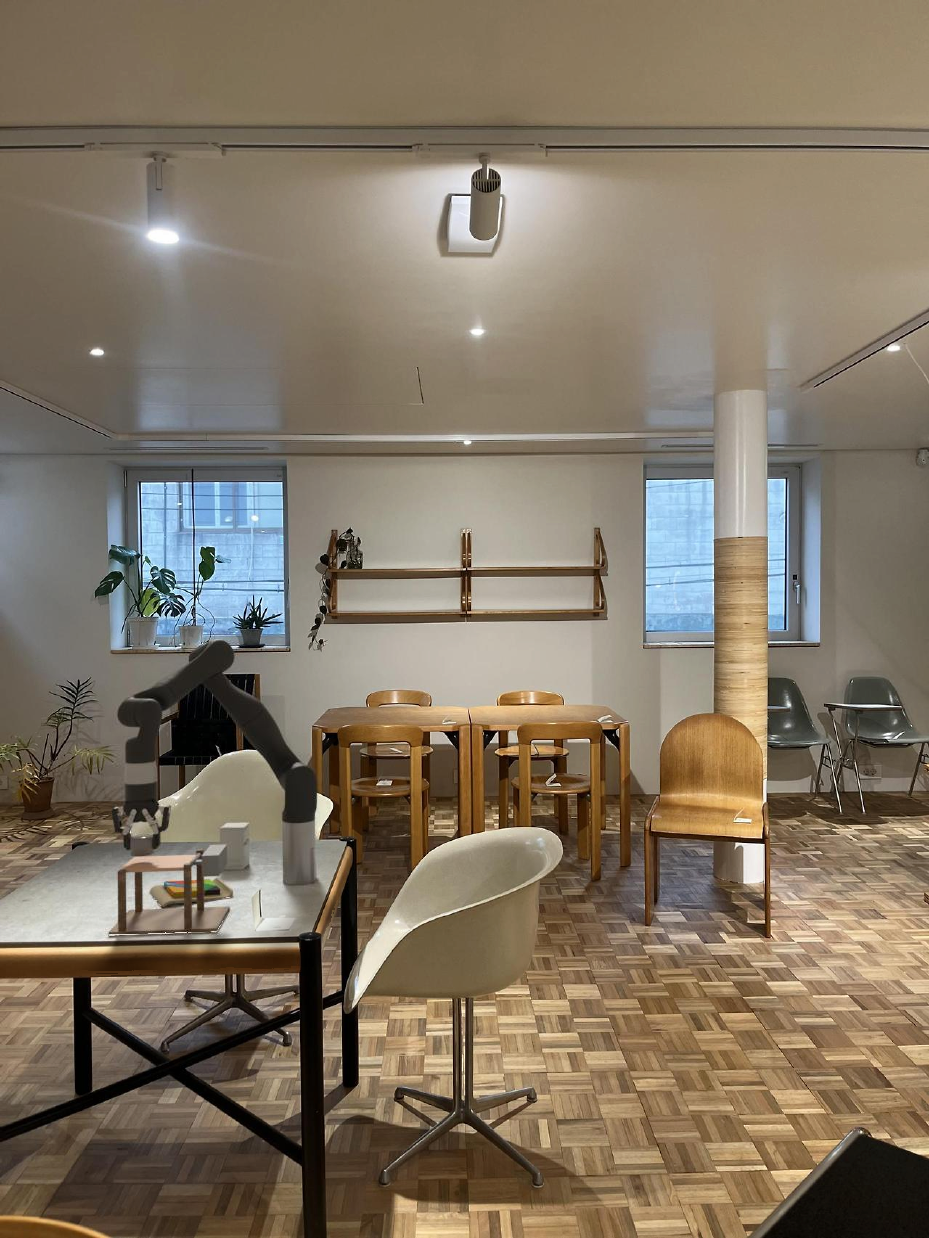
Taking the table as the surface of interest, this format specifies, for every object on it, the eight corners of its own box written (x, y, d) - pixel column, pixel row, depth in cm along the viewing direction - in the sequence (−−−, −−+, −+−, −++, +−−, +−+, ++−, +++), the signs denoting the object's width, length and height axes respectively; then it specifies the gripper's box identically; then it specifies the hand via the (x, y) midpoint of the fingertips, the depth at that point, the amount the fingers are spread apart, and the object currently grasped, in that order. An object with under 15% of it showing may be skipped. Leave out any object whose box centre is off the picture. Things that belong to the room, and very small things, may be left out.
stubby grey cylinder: (157, 850, 229) (156, 834, 229) (151, 855, 223) (150, 839, 223) (133, 851, 228) (133, 834, 228) (127, 856, 223) (126, 840, 223)
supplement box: (244, 869, 275) (243, 827, 275) (219, 870, 275) (218, 827, 275) (250, 863, 282) (249, 822, 282) (226, 863, 282) (225, 822, 282)
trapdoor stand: (229, 910, 236) (229, 847, 236) (217, 932, 219) (216, 864, 219) (129, 913, 234) (128, 850, 234) (108, 936, 217) (107, 868, 217)
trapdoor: (227, 863, 233) (227, 843, 233) (218, 876, 221) (218, 855, 221) (134, 866, 231) (133, 846, 231) (120, 879, 219) (119, 858, 219)
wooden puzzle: (234, 899, 247) (234, 885, 247) (162, 910, 238) (162, 897, 238) (217, 883, 262) (217, 871, 262) (148, 894, 253) (148, 881, 253)
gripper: (174, 776, 230) (175, 844, 230) (115, 778, 229) (116, 846, 229) (167, 781, 223) (168, 851, 223) (106, 783, 222) (107, 854, 221)
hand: (142, 848), depth 226 cm, fingers open, 6 cm apart
